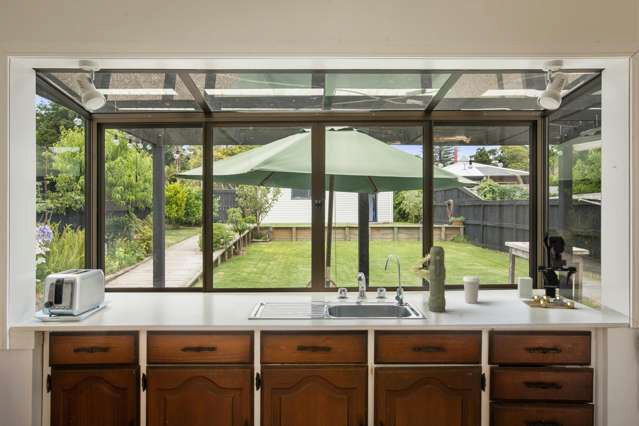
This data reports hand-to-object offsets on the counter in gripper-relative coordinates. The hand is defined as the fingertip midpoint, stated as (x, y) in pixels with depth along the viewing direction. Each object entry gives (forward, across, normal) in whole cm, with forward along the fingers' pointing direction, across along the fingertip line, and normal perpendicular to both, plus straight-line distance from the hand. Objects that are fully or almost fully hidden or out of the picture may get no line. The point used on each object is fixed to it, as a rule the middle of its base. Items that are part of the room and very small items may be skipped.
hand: (557, 284), depth 225 cm
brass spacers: (+11, -2, +7) cm, 13 cm away
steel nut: (+10, +1, +8) cm, 13 cm away
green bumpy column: (+23, -59, -31) cm, 70 cm away
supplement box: (+6, -16, +22) cm, 28 cm away
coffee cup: (+14, -45, -4) cm, 47 cm away
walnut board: (+11, -4, +7) cm, 14 cm away
